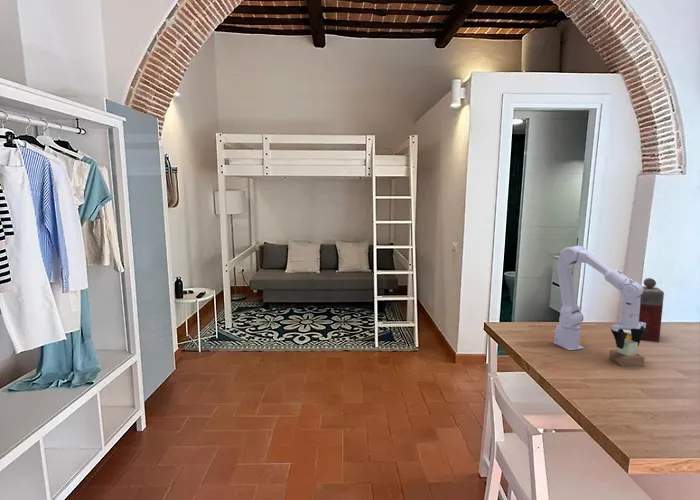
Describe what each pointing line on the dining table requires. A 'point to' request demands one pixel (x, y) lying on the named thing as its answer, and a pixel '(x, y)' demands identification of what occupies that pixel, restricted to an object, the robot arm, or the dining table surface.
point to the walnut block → (626, 359)
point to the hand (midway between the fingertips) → (627, 346)
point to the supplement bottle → (628, 334)
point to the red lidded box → (651, 310)
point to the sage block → (628, 348)
